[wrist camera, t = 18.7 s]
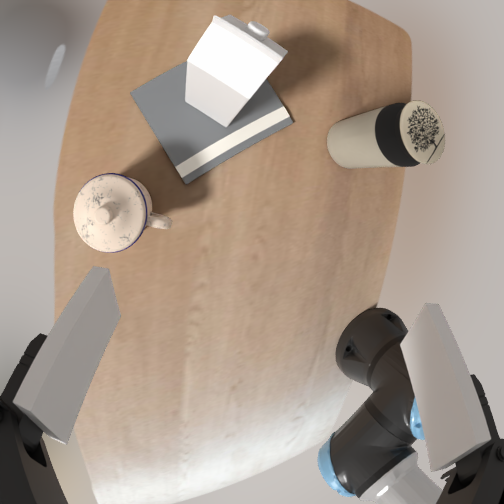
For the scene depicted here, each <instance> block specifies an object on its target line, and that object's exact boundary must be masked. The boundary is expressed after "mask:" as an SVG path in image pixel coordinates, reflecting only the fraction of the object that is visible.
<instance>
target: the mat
mask: <svg viewBox="0 0 504 504" xmlns="http://www.w3.org/2000/svg"><path fill="white" fill-rule="evenodd" d="M186 75H187V61H186V62H184V63H182V64H180V65H178V66H176V67H174V68H172V69H171V70H169V71H167V72H165V73H163V74H161V75H159V76H158V77H156V78H154V79H152V80H151V81H149V82H147V83H145V84H144V85H142V86H140V87H139V88H137V89H135V90H134V91H132V92H131V93H130V94H131V95H132V97H133V99H134V100H135V102H136V104H137V105H138V107H139V109H140V110H141V112H142V114H143V115H144V117H145V119H146V120H147V122H148V124H149V125H150V127H151V129H152V130H153V132H154V134H155V135H156V137H157V138H158V140H159V142H160V143H161V145H162V147H163V148H164V150H165V151H166V153H167V155H168V156H169V158H170V160H171V161H172V163H173V164H174V166H175V168H176V169H177V171H178V173H179V174H180V176H181V177H182V179H183V181H184V182H185V184H188V183H189V182H191V181H193V180H194V179H196V178H197V177H199V176H201V175H202V174H204V173H206V172H207V171H209V170H210V169H212V168H214V167H215V166H217V165H219V164H220V163H222V162H224V161H225V160H227V159H229V158H231V157H232V156H234V155H236V154H237V153H239V152H241V151H243V150H244V149H246V148H248V147H250V146H251V145H253V144H255V143H257V142H259V141H260V140H262V139H264V138H266V137H268V136H270V135H271V134H273V133H275V132H277V131H279V130H281V129H283V128H285V127H286V126H288V125H290V124H292V123H293V121H292V120H291V118H290V116H289V114H288V112H287V111H286V109H285V107H284V106H283V105H282V103H281V101H280V100H279V98H278V96H277V95H276V93H275V92H274V90H273V88H272V87H271V85H270V84H269V82H268V80H267V79H265V81H264V82H263V83H262V84H261V86H260V87H259V88H258V89H257V91H256V92H255V93H254V94H253V96H252V97H251V98H250V99H249V101H248V102H247V103H246V104H245V105H244V107H243V108H242V109H241V110H240V111H239V113H238V114H237V115H236V116H235V118H234V119H233V120H232V121H231V123H230V124H229V125H228V126H227V127H224V126H223V125H221V124H220V123H218V122H217V121H215V120H214V119H212V118H210V117H209V116H207V115H206V114H204V113H203V112H201V111H199V110H198V109H196V108H195V107H193V106H191V105H190V104H188V103H187V102H186V101H185V92H186Z"/></svg>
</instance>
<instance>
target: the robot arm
mask: <svg viewBox="0 0 504 504" xmlns="http://www.w3.org/2000/svg"><path fill="white" fill-rule="evenodd" d="M120 317H121V314H120V311H119V307H118V303H117V300H116V296H115V292H114V288H113V284H112V280H111V276H110V271H109V269H108V268H102V267H96V266H93V267H92V269H91V270H90V271H89V273H88V274H87V276H86V277H85V279H84V280H83V282H82V283H81V284H80V286H79V287H78V289H77V290H76V292H75V293H74V295H73V296H72V298H71V299H70V301H69V302H68V304H67V306H66V307H65V309H64V310H63V312H62V313H61V315H60V317H59V318H58V320H57V321H56V323H55V325H54V326H53V328H52V330H51V331H50V333H49V335H48V336H46V335H44V334H41V333H40V334H39V335H38V336H37V337H36V338H34V339H33V340H32V341H31V342H30V344H29V345H28V347H27V349H26V351H25V352H24V355H23V356H22V357H21V359H20V361H19V364H18V365H17V366H16V368H15V370H14V372H13V374H12V376H11V377H10V379H9V381H8V383H7V385H6V387H5V389H4V391H3V393H2V395H1V396H0V504H68V502H67V500H66V498H65V496H64V494H63V491H62V489H61V486H60V484H59V482H58V479H57V477H56V474H55V472H54V469H53V466H52V464H51V461H50V458H49V455H48V452H47V449H46V446H45V443H44V441H43V439H42V437H41V436H42V433H43V432H45V433H46V434H47V435H48V436H49V437H50V438H53V439H55V440H57V441H59V442H61V443H64V444H66V445H67V443H68V440H69V438H70V435H71V432H72V429H73V427H74V424H75V421H76V419H77V416H78V413H79V411H80V408H81V406H82V403H83V401H84V398H85V396H86V393H87V391H88V388H89V386H90V383H91V381H92V379H93V376H94V374H95V372H96V369H97V367H98V365H99V362H100V360H101V358H102V356H103V353H104V351H105V349H106V347H107V345H108V342H109V340H110V338H111V336H112V334H113V332H114V330H115V327H116V325H117V323H118V321H119V319H120ZM336 362H337V365H338V367H339V368H340V369H341V371H342V372H343V373H344V374H345V375H346V376H347V377H349V378H350V379H352V380H355V381H357V382H359V383H362V384H364V385H366V386H369V387H370V388H371V389H372V390H373V391H374V392H373V393H372V394H371V395H370V397H369V398H368V399H367V400H366V401H365V402H364V403H363V404H362V405H361V407H360V408H359V409H358V410H357V411H356V412H355V413H354V414H353V415H352V416H351V417H350V418H349V419H348V420H347V421H346V422H345V423H344V424H343V425H342V426H341V427H340V428H339V429H338V430H337V431H336V432H334V433H333V434H332V435H331V436H330V439H329V440H328V441H327V442H326V443H325V444H324V445H323V446H322V447H321V448H320V450H319V454H318V466H319V470H320V472H321V474H322V476H323V478H324V479H325V481H326V482H327V484H328V485H329V486H330V487H331V488H332V489H333V490H337V492H338V493H339V494H341V495H343V496H347V497H351V496H355V495H356V496H357V497H358V498H359V499H360V500H361V501H373V502H375V503H376V504H504V439H500V438H499V435H498V432H497V429H496V426H495V422H494V419H493V416H492V413H491V410H490V407H489V405H488V401H487V398H486V397H485V393H484V390H483V387H482V385H481V383H480V382H479V380H478V379H477V378H476V376H475V375H474V374H473V375H470V374H469V371H468V369H467V366H466V364H465V361H464V359H463V356H462V354H461V352H460V349H459V347H458V344H457V342H456V340H455V338H454V335H453V333H452V331H451V329H450V327H449V325H448V322H447V321H446V319H445V316H444V315H443V312H442V310H441V308H440V306H439V304H430V303H425V305H424V306H423V308H422V310H421V311H420V313H419V315H418V317H417V318H416V320H415V322H414V323H413V325H412V327H411V328H410V330H409V331H408V330H407V328H406V327H405V325H404V323H403V322H402V320H401V319H400V318H399V317H398V316H397V315H396V314H395V313H393V312H391V311H390V310H388V309H385V308H374V309H370V310H368V311H366V312H364V313H362V314H360V315H359V316H357V317H356V318H355V319H354V320H353V321H352V322H351V323H350V324H349V325H348V326H347V327H346V329H345V330H344V332H343V333H342V335H341V337H340V339H339V341H338V344H337V348H336ZM416 439H421V440H424V439H425V441H426V446H427V451H428V457H429V462H430V468H431V472H434V471H438V470H441V469H444V468H447V467H449V466H450V465H452V464H454V463H456V467H455V468H453V469H451V470H449V471H448V472H446V473H445V474H443V475H442V477H441V479H444V478H445V477H447V476H449V475H450V477H448V478H447V479H446V480H445V481H446V482H447V483H446V485H445V487H444V489H443V490H442V489H441V488H440V487H439V486H437V485H436V484H435V483H434V482H433V481H432V480H431V479H430V478H429V477H428V476H427V475H426V474H425V473H424V472H423V471H422V470H421V469H420V468H419V467H418V466H417V459H418V453H417V452H416V451H415V450H414V449H413V448H412V447H411V445H412V444H413V443H414V442H415V440H416Z"/></svg>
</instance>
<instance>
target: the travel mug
mask: <svg viewBox="0 0 504 504" xmlns="http://www.w3.org/2000/svg"><path fill="white" fill-rule="evenodd" d="M444 145H445V134H444V129H443V125H442V122H441V120H440V118H439V116H438V114H437V113H436V111H435V110H434V109H433V108H432V107H431V106H430V105H428V104H427V103H425V102H423V101H419V100H415V101H411V102H409V103H408V104H405V103H395V104H392V105H389V106H385V107H382V108H379V109H375V110H372V111H369V112H366V113H363V114H360V115H357V116H354V117H351V118H348V119H345V120H342V121H339V122H337V123H335V124H334V125H333V126H332V127H331V128H330V130H329V132H328V136H327V147H328V151H329V153H330V155H331V157H332V158H333V160H334V161H335V162H336V163H337V164H339V165H340V166H342V167H344V168H349V169H352V168H374V167H409V166H410V167H411V166H416V165H418V164H420V163H422V164H432V163H435V162H436V161H437V160H438V159H439V158H440V157H441V155H442V153H443V150H444Z"/></svg>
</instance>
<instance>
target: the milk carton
mask: <svg viewBox="0 0 504 504" xmlns="http://www.w3.org/2000/svg"><path fill="white" fill-rule="evenodd" d="M269 33H270V32H269V30H268V29H267V28H266V27H264V26H263V25H261V24H259V23H257V22H254V21H251V22H250V23H249V24H248V25H247V24H246V23H244V22H242V21H240V20H239V19H237V18H235V17H234V16H232V15H228V16H225V17H222V18H219V17H218V16H214V17H213V21H212V23H211V24H210V26H209V27H208V29H207V30H206V32H205V33H204V35H203V36H202V38H201V39H200V41H199V42H198V44H197V45H196V47H195V48H194V50H193V52H192V53H191V55H190V56H189V58H188V60H187V75H186V92H185V101H186V102H187V103H188V104H190V105H191V106H193V107H195V108H196V109H198V110H199V111H201V112H203V113H204V114H206V115H207V116H209V117H210V118H212V119H214V120H215V121H217V122H218V123H220V124H221V125H223V126H224V127H227V126H228V125H229V124H230V123H231V121H232V120H233V119H234V118H235V116H236V115H237V114H238V113H239V111H240V110H241V109H242V108H243V107H244V105H245V104H246V103H247V102H248V101H249V99H250V98H251V97H252V96H253V94H254V93H255V92H256V91H257V89H258V88H259V87H260V86H261V84H262V83H263V82H264V81H265V79H266V78H267V77H268V76H269V75H270V73H271V72H272V71H273V70H274V69H275V67H276V66H277V65H278V64H279V63H280V62H281V60H282V59H283V57H284V56H285V55H286V54H287V52H288V51H287V50H285V49H284V48H283V47H281V46H280V45H278V44H277V43H275V42H274V41H272V40H271V39H269V38H268V37H267V36H268V35H269Z"/></svg>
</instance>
